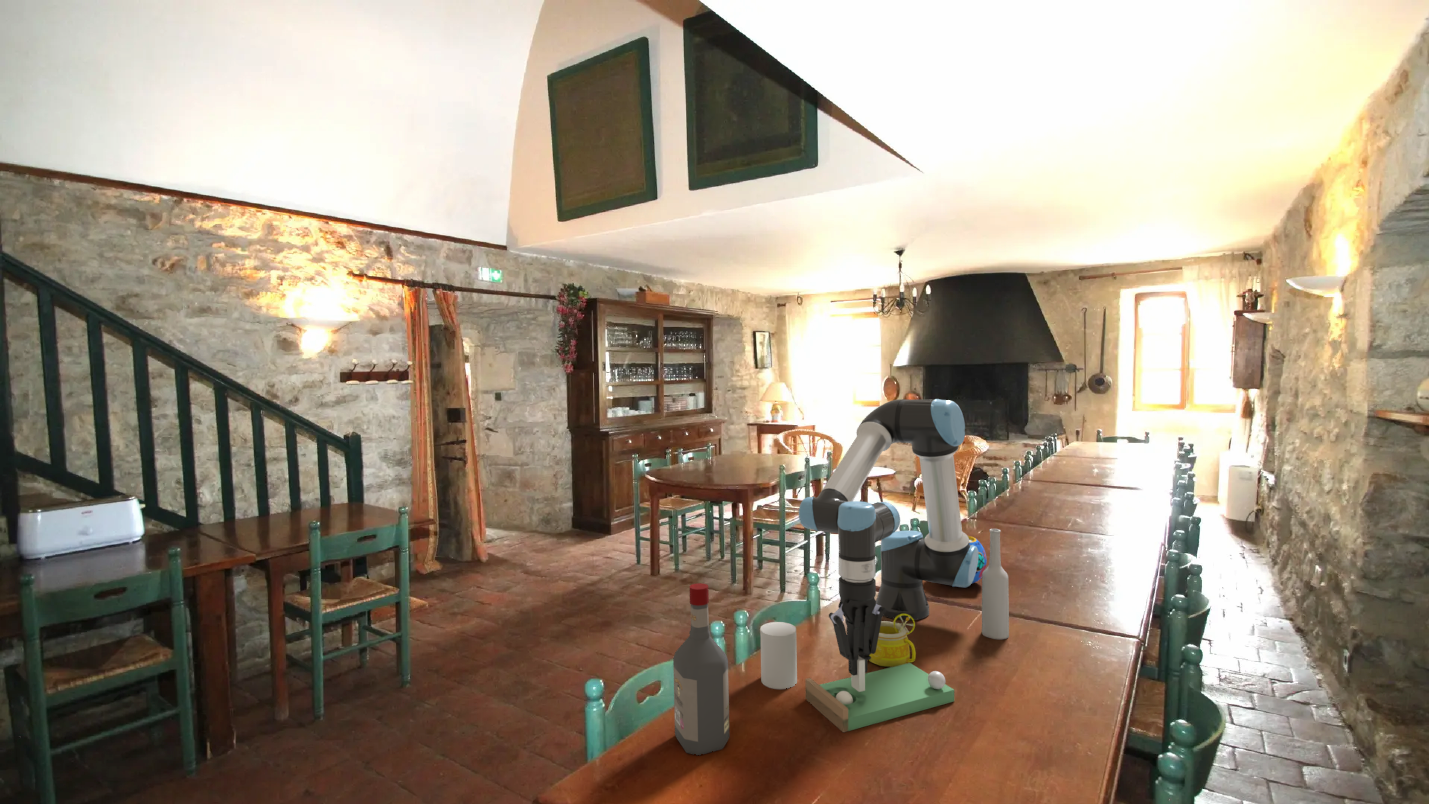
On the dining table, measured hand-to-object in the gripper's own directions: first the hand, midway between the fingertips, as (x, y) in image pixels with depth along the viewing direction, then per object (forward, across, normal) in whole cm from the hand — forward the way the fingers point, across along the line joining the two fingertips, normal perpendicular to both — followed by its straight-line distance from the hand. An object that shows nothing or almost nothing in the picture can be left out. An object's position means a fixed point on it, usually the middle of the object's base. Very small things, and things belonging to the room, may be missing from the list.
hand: (858, 688), depth 133 cm
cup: (+4, -10, +17) cm, 20 cm away
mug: (+4, +20, +14) cm, 24 cm away
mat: (+4, +5, 0) cm, 7 cm away
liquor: (+4, -35, +2) cm, 35 cm away
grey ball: (0, +16, -5) cm, 17 cm away
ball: (+2, -3, 0) cm, 4 cm away
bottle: (+4, +54, +15) cm, 57 cm away
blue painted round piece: (+4, +76, +51) cm, 92 cm away
